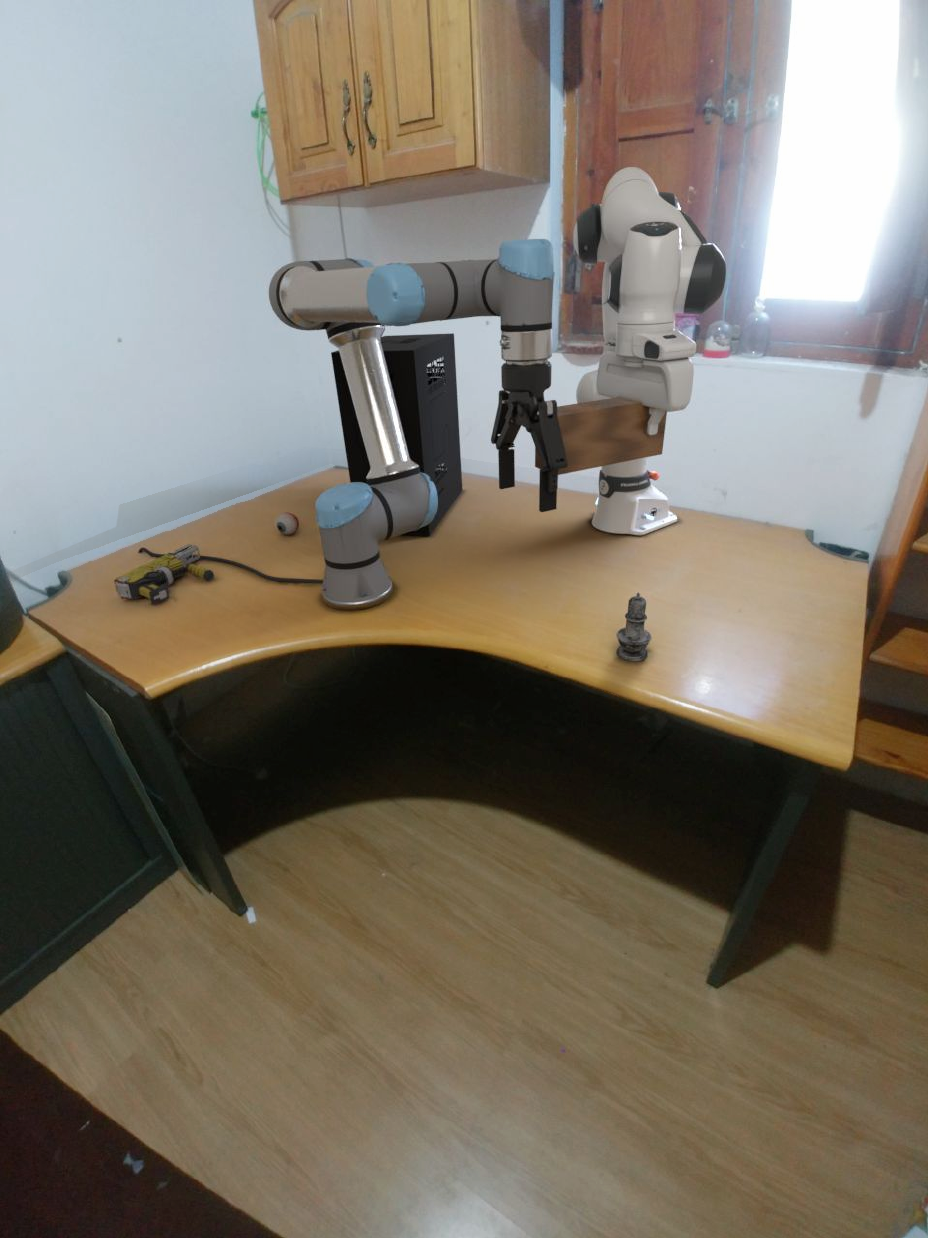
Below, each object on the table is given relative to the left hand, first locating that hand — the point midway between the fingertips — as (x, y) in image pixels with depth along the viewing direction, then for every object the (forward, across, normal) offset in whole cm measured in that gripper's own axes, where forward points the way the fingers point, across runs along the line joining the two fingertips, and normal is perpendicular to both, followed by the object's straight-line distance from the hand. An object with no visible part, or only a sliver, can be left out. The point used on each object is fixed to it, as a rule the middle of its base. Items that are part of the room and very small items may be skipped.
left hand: (526, 498), depth 101 cm
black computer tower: (+27, -76, +6) cm, 81 cm away
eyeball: (+27, -77, -30) cm, 87 cm away
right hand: (-8, 0, +22) cm, 23 cm away
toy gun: (+27, -60, -59) cm, 88 cm away
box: (-4, 0, +14) cm, 15 cm away
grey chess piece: (+27, +15, +13) cm, 33 cm away
